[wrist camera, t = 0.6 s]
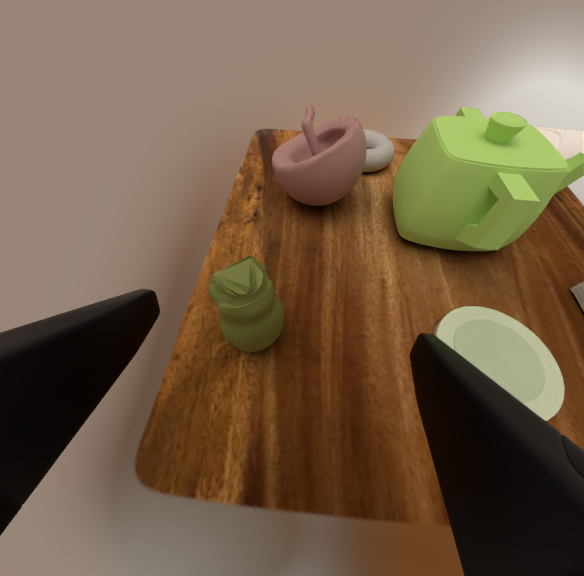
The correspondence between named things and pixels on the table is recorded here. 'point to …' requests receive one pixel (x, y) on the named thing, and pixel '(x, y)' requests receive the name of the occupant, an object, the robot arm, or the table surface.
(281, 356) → the table surface
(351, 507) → the table surface
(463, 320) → the plate
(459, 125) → the teapot
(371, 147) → the donut
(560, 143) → the mug
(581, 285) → the small box
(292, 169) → the mortar and pestle
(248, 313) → the olive green lumpy piece
